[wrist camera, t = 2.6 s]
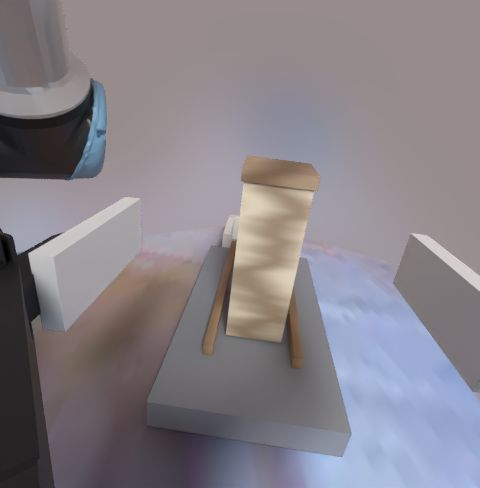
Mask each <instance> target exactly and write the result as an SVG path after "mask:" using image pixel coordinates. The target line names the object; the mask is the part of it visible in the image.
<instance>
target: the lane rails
mask: <svg viewBox="0 0 480 488" xmlns="http://www.w3.org/2000/svg"><path fill="white" fill-rule="evenodd" d="M236 243H237V241H232V242H231V245H230V249H229V253H228V256H227V260H226V263H225V267H224V271H223V274H222V278H221V282H220V285H219V289H218V292H217V296H216V300H215V303H214V307H213V310H212V314H211V318H210V321H209V325H208V329H207V332H206V336H205V339H204V343H203V354H204V355H211V356H212V354H213V350H214V345H215V341H216V336H217V332H218V328H219V323H220V319H221V314H222V310H223V306H224V301H225V297H226V292H227V288H228V284H229V279H230V275H231V270H232V266H233V262H234V257H235V252H236ZM287 324H288V335H289V347H290V358H291V368H297V369H301V367H302V364H303V360H304V355H303V348H302V341H301V334H300V327H299V320H298V313H297V306H296V299H295V292H294V285H293V290H292V294H291V299H290V304H289V308H288V313H287Z"/></svg>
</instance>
